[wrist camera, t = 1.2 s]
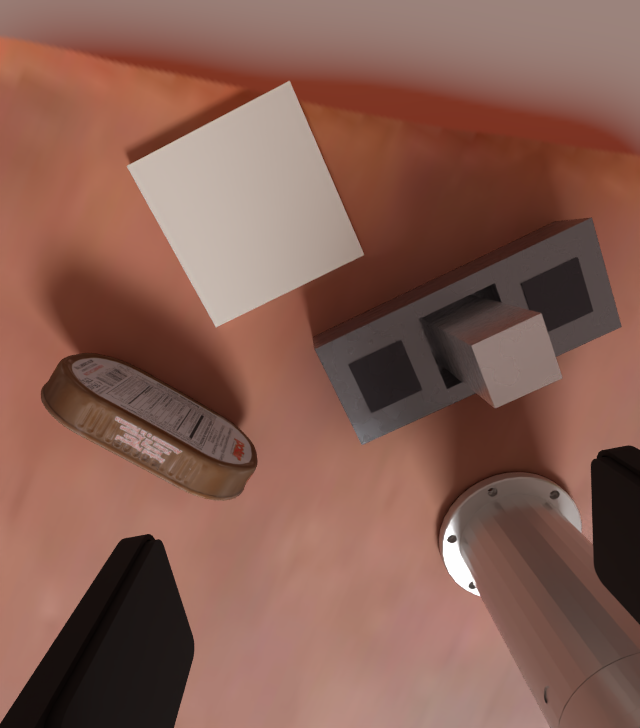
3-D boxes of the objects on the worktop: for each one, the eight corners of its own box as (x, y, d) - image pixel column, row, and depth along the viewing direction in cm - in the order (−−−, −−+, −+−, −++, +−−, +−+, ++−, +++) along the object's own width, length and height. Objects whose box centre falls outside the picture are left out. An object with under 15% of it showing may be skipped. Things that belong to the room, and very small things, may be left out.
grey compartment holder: (584, 317, 33) (622, 327, 29) (354, 423, 35) (362, 445, 31) (555, 221, 31) (592, 217, 27) (312, 337, 33) (314, 349, 29)
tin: (78, 368, 32) (5, 408, 24) (97, 334, 32) (28, 364, 24) (247, 462, 35) (233, 526, 27) (267, 433, 35) (259, 489, 27)
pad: (362, 254, 31) (364, 254, 30) (218, 324, 32) (215, 327, 31) (289, 86, 28) (289, 80, 27) (132, 168, 29) (126, 166, 28)
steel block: (484, 340, 33) (562, 378, 23) (437, 362, 33) (495, 408, 24) (467, 293, 32) (541, 313, 22) (418, 316, 32) (471, 345, 22)
